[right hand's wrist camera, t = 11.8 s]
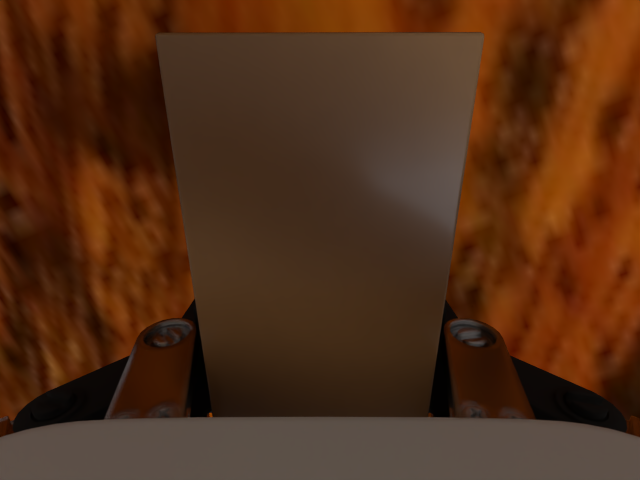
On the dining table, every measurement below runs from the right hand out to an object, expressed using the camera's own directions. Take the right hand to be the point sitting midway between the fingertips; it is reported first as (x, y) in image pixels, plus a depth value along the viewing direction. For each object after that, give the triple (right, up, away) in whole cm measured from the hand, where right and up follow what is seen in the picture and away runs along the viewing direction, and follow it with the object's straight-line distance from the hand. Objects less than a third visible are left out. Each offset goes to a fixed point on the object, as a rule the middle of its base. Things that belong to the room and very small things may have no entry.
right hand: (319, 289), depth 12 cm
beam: (0, -21, +10) cm, 23 cm away
